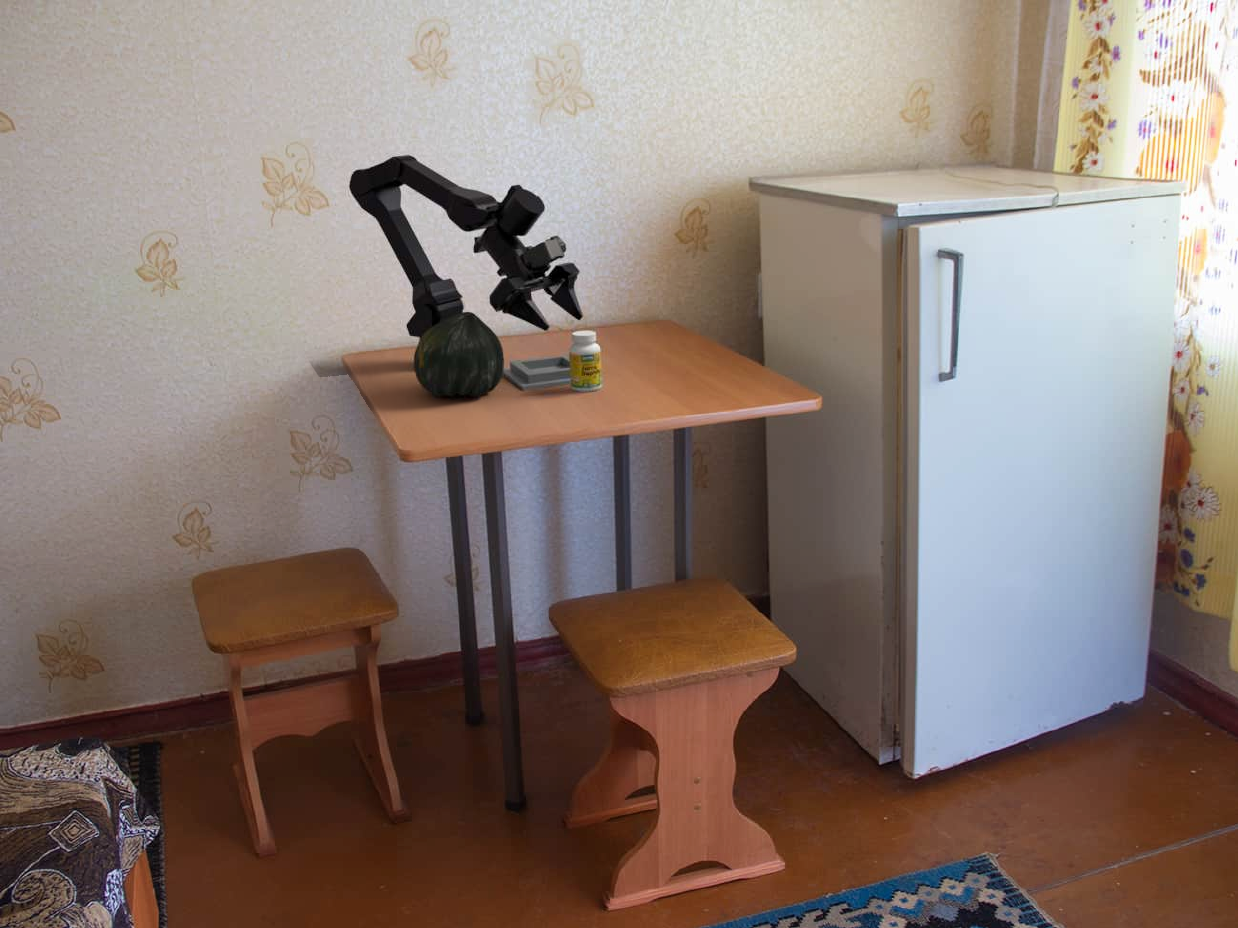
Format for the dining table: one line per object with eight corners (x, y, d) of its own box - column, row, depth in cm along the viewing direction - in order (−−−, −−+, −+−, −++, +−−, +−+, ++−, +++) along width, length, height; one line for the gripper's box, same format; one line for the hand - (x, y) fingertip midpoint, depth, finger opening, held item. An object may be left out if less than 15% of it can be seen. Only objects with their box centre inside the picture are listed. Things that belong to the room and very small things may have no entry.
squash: (404, 355, 202) (413, 300, 190) (487, 348, 207) (501, 295, 195) (420, 423, 195) (431, 371, 183) (506, 414, 201) (521, 363, 188)
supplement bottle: (591, 382, 201) (589, 328, 198) (608, 388, 197) (606, 333, 194) (564, 387, 199) (562, 332, 195) (581, 394, 194) (578, 338, 191)
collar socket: (500, 372, 210) (499, 361, 210) (573, 362, 215) (572, 351, 214) (523, 390, 198) (522, 378, 197) (600, 379, 203) (599, 368, 202)
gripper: (497, 229, 187) (555, 302, 184) (567, 215, 201) (622, 283, 199) (465, 275, 194) (520, 346, 191) (535, 258, 208) (588, 324, 206)
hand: (564, 323), depth 197 cm, fingers open, 9 cm apart
